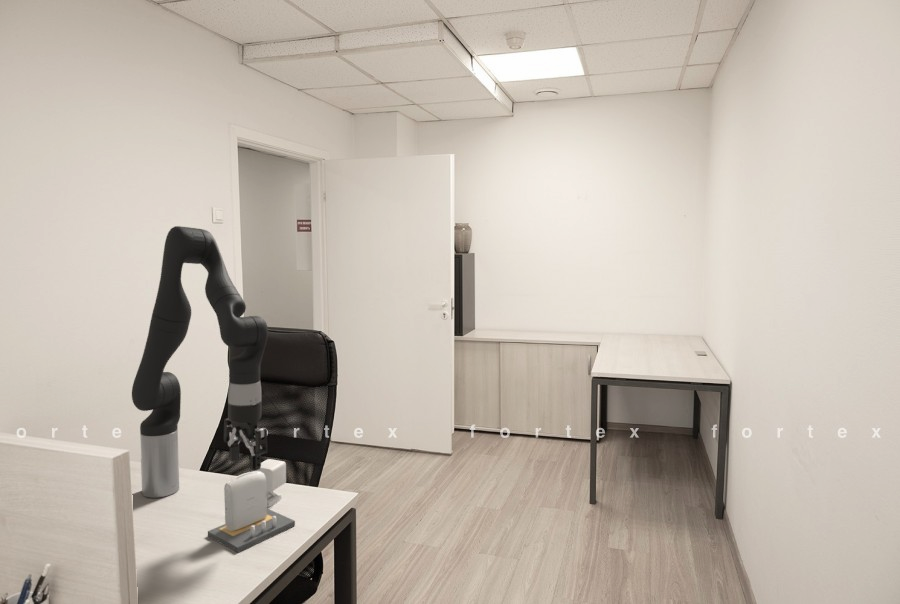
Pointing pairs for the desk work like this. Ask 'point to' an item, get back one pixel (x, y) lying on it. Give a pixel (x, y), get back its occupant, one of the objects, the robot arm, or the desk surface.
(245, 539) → the charging dock
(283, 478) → the security camera
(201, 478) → the desk surface
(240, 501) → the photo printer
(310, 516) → the desk surface
